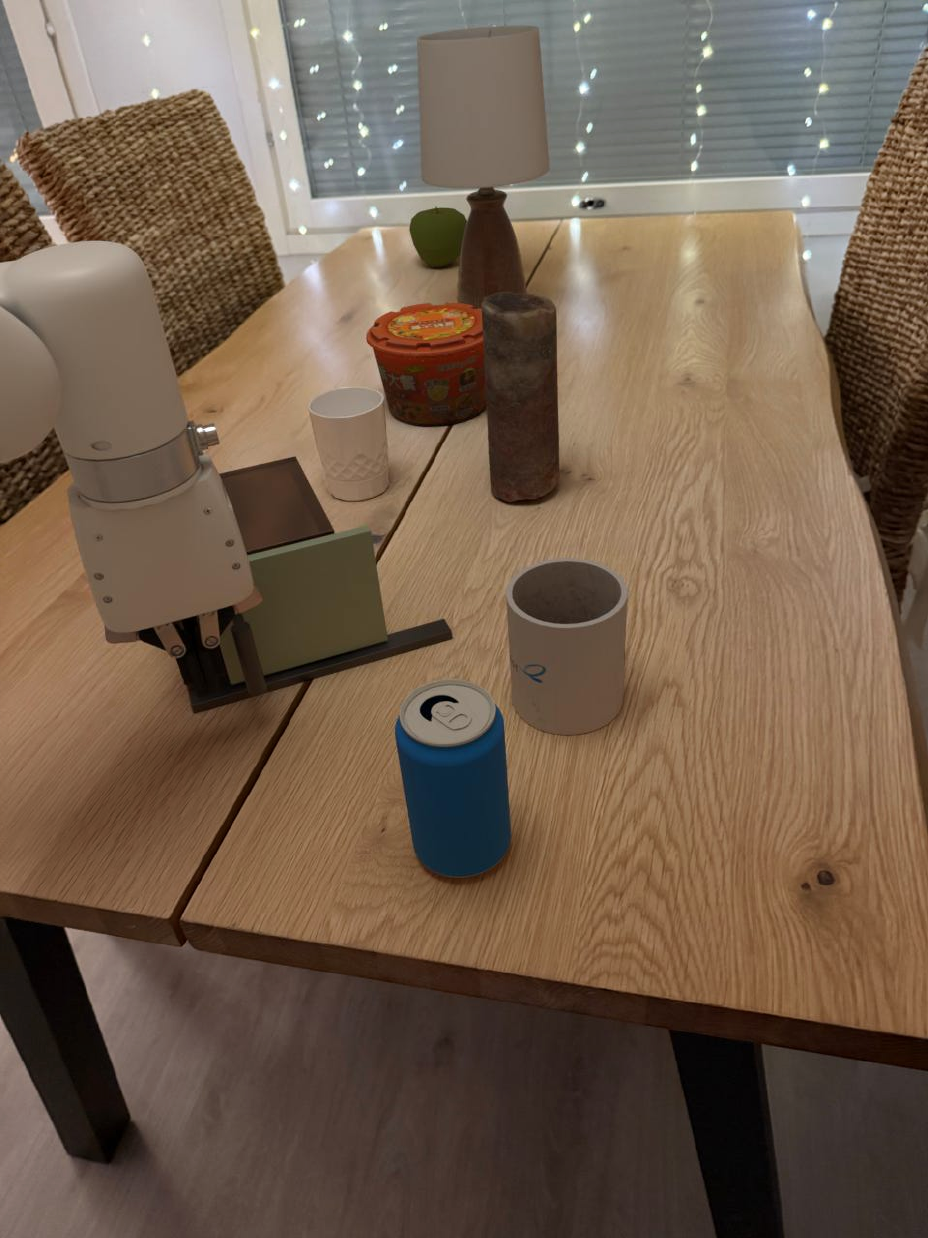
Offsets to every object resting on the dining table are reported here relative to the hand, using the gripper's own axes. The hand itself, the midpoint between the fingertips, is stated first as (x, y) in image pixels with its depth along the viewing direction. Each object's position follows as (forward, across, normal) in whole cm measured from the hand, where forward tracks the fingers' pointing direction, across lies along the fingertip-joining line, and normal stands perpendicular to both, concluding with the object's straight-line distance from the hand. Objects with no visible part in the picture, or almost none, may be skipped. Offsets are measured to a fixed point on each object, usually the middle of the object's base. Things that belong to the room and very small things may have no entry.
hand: (207, 684), depth 68 cm
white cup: (+6, -20, -34) cm, 40 cm away
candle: (+6, -36, -25) cm, 44 cm away
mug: (+6, -26, +5) cm, 27 cm away
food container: (+6, -35, -50) cm, 61 cm away
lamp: (+6, -55, -80) cm, 98 cm away
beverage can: (+6, -13, +17) cm, 22 cm away
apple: (+6, -56, -108) cm, 122 cm away
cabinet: (+5, -9, -12) cm, 16 cm away
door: (+4, -8, -2) cm, 9 cm away
